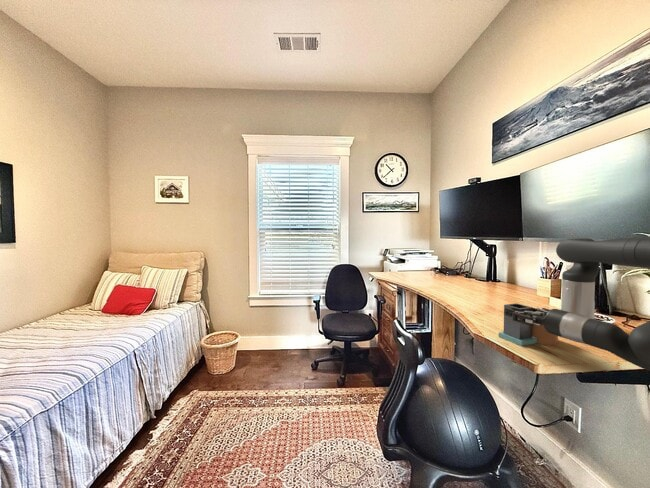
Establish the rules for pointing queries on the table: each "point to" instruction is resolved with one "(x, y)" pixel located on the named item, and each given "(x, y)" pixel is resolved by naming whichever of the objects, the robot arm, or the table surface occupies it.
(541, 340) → the bracket
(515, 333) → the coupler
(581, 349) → the table surface
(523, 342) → the shaft mount
